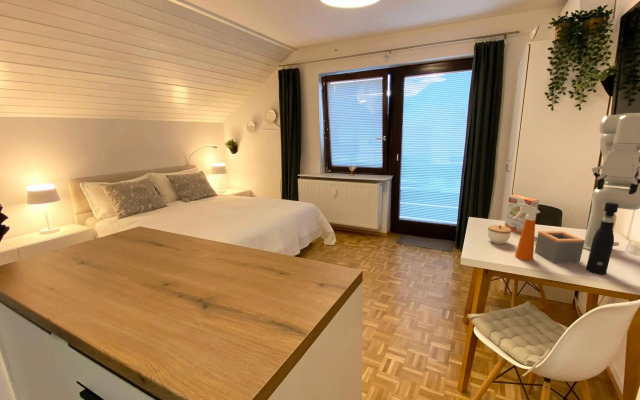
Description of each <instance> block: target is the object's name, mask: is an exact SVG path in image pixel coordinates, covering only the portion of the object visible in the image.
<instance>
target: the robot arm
mask: <svg viewBox="0 0 640 400" xmlns="http://www.w3.org/2000/svg"><path fill="white" fill-rule="evenodd" d="M602 117H603V118H601V120H600V123H599V132H600V134H601V136H600V141H599V142H600V143H599V146H600V151H601V155H602V164H601V165H599V166H596V167H592V168H591V171H592V172H593V173H592V174H593V176H594V177H595V178H596V180H597V182H596V188H595V189H594V190H593V191H592V194H591V209H590V213H589V219H588V223H587V228H586V232H585V238H584V240H585V242H584V246H583V250H587V251H590V249H591V245H592V241H593V237H594V235H595V233H596V232H597V230H598V229H599V228H600V225H601V221H603V217H604V216H605V213H606V211H604V208H605V203H616V204H619V206H618V209H621V210H623V209H624V210H631V211H632V210H633V211H636V210H639V209H640V112H627V113H619V114H618V113H617V114H607V115H604V116H602ZM599 170H600V172H599ZM612 218H614V220H613V221H614V222H613V223H614V225H613V231H614V230H615V226H616V222H617V214H616V213H614V217H612ZM619 245H620V243H619V241H614V244H613V247H619ZM613 252H614V249H613V248H612V252H611V254H612V253H613Z"/></svg>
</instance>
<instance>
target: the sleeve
mask: <svg viewBox="0 0 640 400" xmlns="http://www.w3.org/2000/svg"><path fill="white" fill-rule="evenodd" d="M584 242H585V239H583V238H580V237H578V236H575V235H573V234H571V233H569V232H566V231H564V230H550V231H549V230H543V231H542V230H540V231H539V230H538V232H537V238H536V242H535V243H536V244H535V247H534V253H535V254H537V255H538V256H541V257H542V258H544V259H545V260H547V261H549V262H551V263H552V264H580V263H581V258H582V254H583V250H584V248H583V246H584Z"/></svg>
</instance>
